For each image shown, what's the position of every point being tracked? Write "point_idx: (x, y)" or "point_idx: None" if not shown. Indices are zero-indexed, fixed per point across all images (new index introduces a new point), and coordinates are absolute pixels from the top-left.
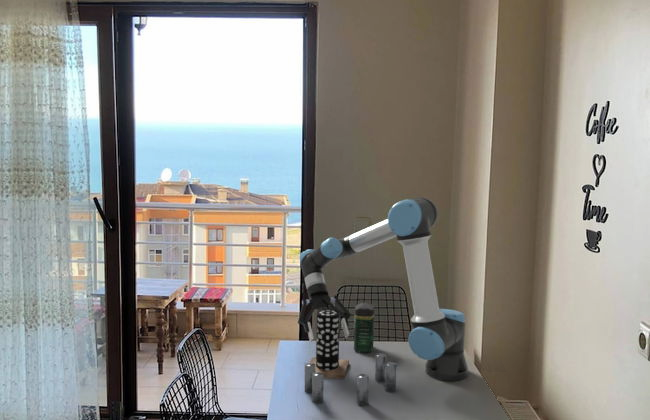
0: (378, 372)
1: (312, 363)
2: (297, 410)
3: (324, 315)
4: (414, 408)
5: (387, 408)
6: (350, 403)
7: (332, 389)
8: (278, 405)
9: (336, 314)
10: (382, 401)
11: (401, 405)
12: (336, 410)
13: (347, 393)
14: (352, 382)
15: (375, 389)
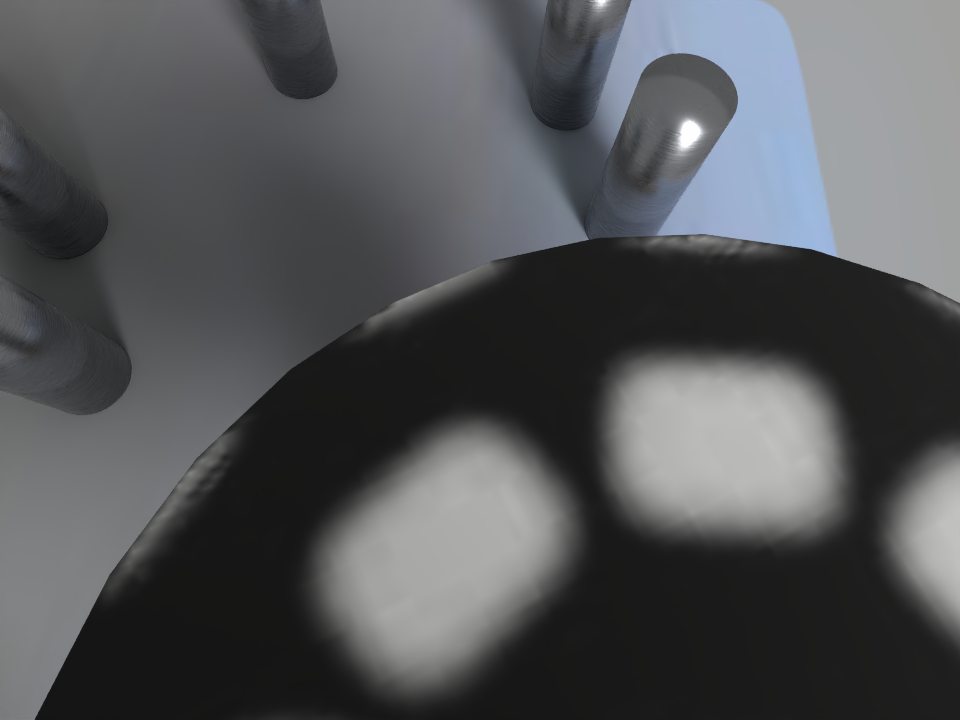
0: (67, 314)
1: (669, 121)
2: (667, 24)
3: (884, 342)
4: (18, 15)
5: (173, 22)
6: (374, 77)
7: (470, 241)
8: (778, 73)
9: (251, 513)
10: (177, 90)
11: (80, 46)
12: (460, 16)
13: (375, 187)
14: (316, 341)
15: (174, 233)
